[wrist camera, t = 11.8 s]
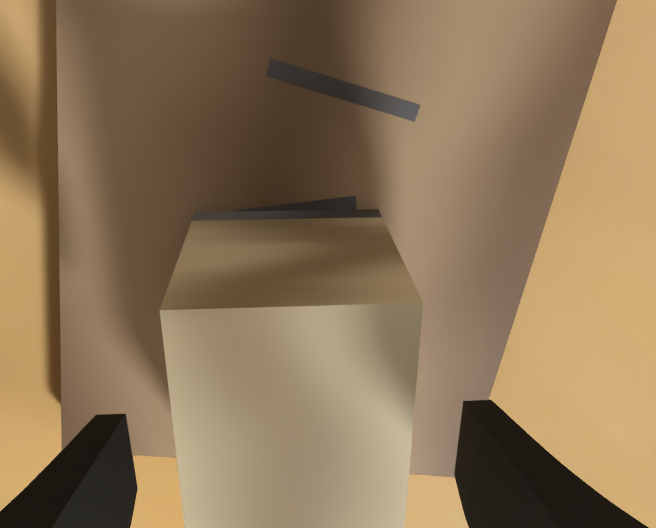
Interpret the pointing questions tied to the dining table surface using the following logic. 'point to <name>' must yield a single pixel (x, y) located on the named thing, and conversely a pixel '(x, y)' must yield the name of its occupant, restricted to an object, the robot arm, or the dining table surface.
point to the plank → (309, 168)
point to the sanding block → (292, 370)
